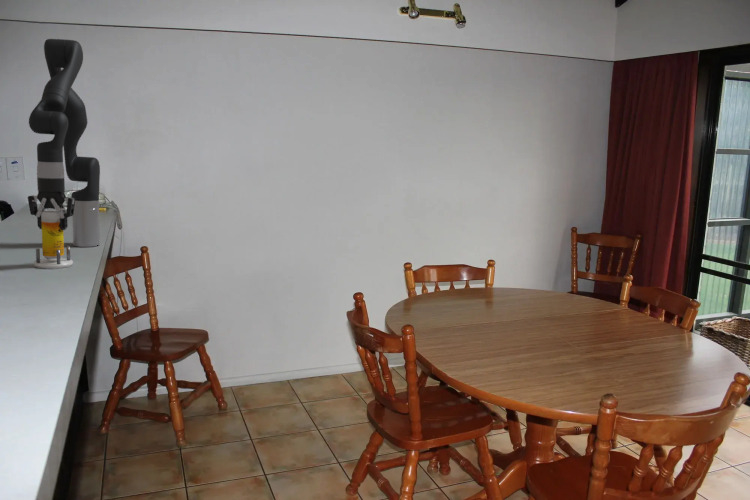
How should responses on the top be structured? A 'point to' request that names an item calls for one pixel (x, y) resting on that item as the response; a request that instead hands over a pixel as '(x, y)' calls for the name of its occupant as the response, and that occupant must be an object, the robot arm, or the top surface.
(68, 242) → the top surface
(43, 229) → the beer can
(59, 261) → the pin tray
